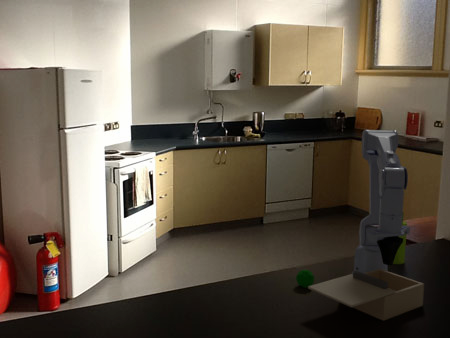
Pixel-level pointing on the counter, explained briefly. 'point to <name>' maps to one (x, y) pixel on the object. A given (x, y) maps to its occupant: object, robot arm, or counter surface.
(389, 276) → the carton
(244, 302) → the counter surface
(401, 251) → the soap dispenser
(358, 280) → the carton lid
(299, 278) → the green ball
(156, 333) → the counter surface
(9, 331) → the counter surface
